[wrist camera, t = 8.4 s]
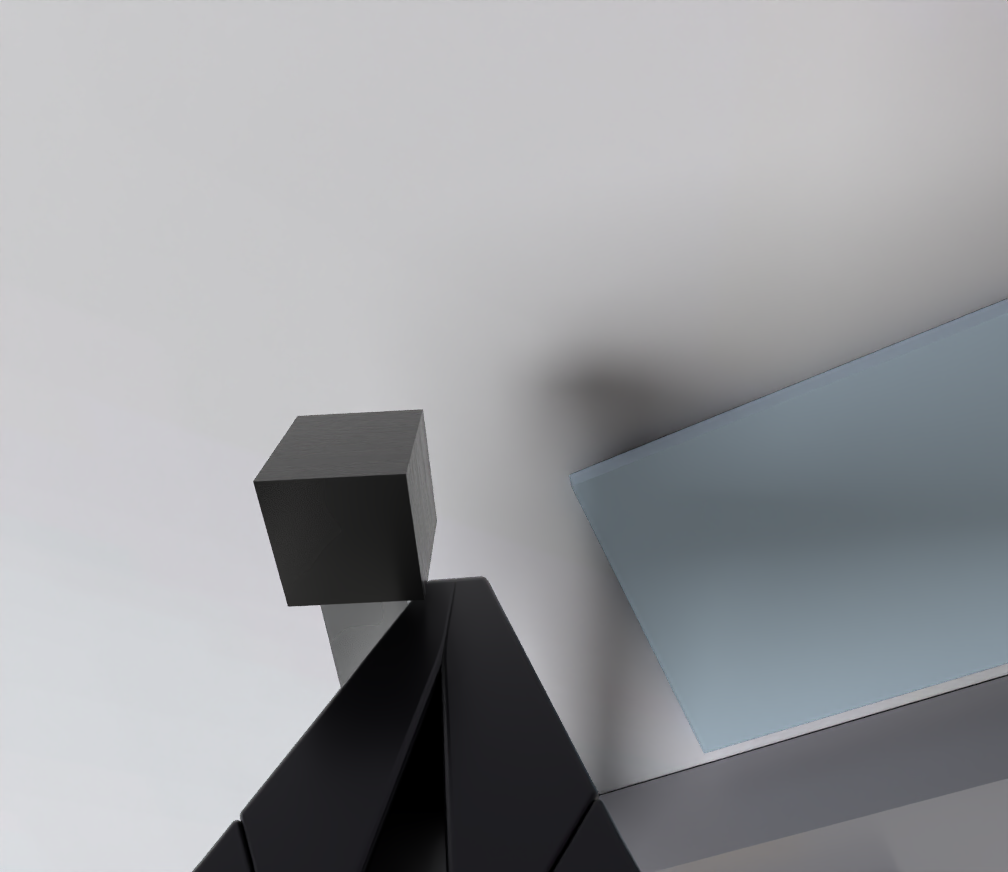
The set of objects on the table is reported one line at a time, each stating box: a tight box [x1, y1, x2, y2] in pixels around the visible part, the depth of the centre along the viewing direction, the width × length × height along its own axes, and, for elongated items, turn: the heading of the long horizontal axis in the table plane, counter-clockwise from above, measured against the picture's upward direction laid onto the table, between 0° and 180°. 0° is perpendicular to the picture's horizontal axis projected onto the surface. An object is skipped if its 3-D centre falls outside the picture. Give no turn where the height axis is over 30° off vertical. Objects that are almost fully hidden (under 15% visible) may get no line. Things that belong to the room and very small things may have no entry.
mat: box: [569, 299, 1008, 753], centre depth 12 cm, size 8×8×1 cm
